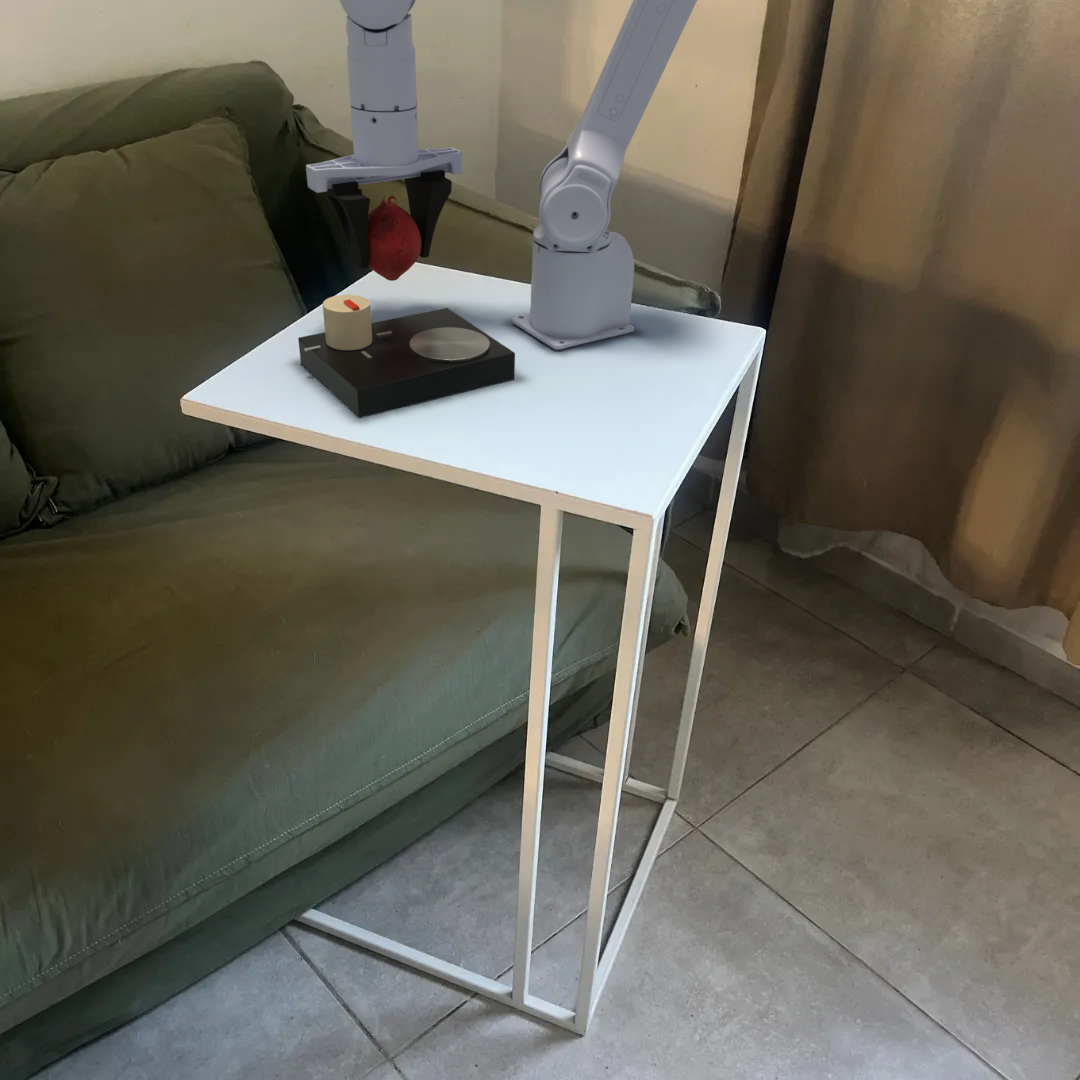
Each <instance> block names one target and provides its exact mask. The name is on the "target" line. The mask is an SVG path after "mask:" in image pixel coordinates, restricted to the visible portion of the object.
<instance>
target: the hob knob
mask: <svg viewBox="0 0 1080 1080" xmlns="http://www.w3.org/2000/svg"><path fill="white" fill-rule="evenodd" d="M322 312H323V324H324V332H325V337H326V343H327V345H328V346H329V347H331V348H334V349H338V350H358V349H362V348H365V347H367V346H369V345H370V344H371V343H372V326H371V323H372V312H371V302H370V300H369V298H367V297H365V296H361V295H357V294H340V295H334V296H330V297H327V298H326V299H325V300H324V301H323V302H322Z"/></svg>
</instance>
